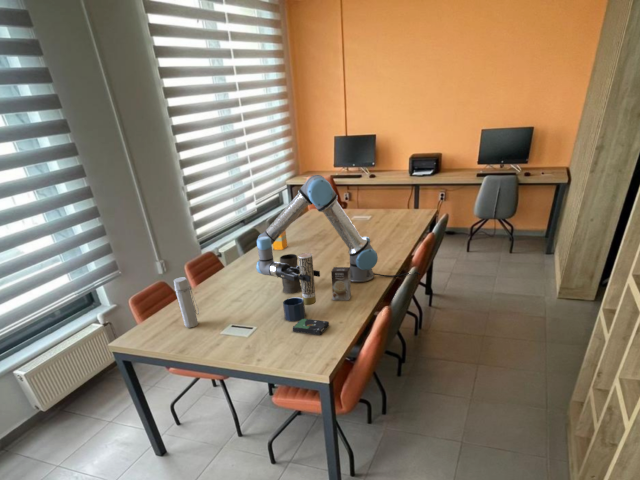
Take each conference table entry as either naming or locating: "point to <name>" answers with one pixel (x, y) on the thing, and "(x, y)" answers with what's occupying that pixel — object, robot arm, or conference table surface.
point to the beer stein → (287, 284)
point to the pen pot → (294, 309)
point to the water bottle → (186, 302)
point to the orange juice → (280, 242)
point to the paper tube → (306, 286)
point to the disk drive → (311, 326)
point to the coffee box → (341, 283)
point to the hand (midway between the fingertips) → (314, 276)
